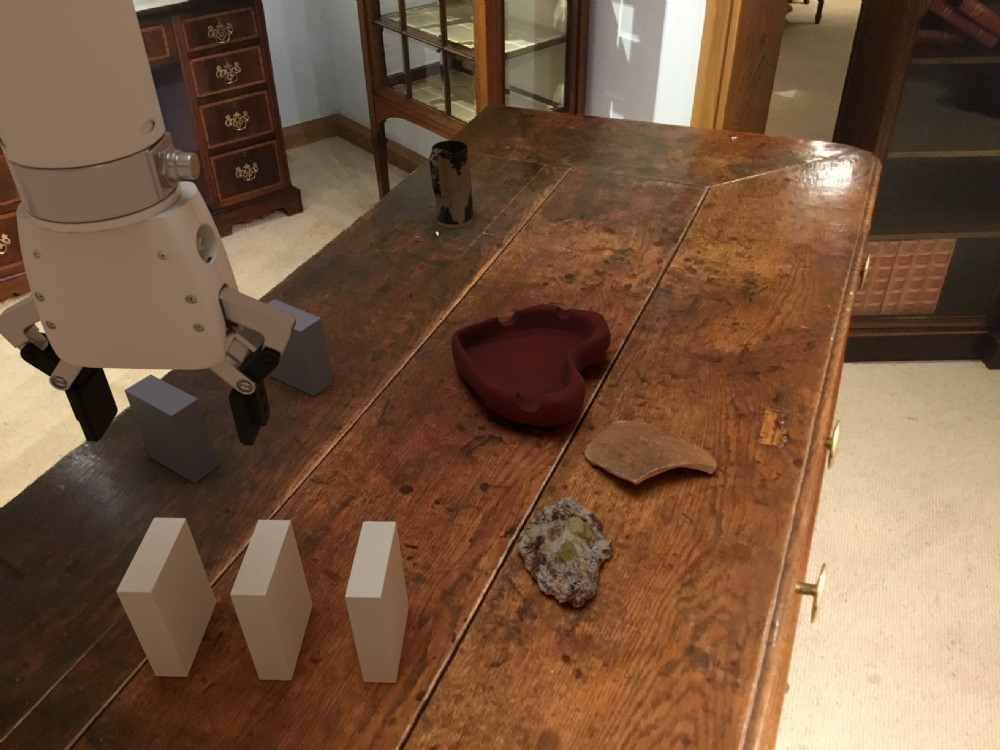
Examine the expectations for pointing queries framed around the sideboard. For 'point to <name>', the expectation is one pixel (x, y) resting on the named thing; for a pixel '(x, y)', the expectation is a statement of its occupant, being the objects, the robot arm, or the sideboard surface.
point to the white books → (190, 601)
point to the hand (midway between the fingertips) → (178, 429)
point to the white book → (272, 599)
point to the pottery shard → (644, 452)
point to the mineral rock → (565, 551)
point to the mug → (451, 183)
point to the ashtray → (532, 362)
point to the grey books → (178, 417)
